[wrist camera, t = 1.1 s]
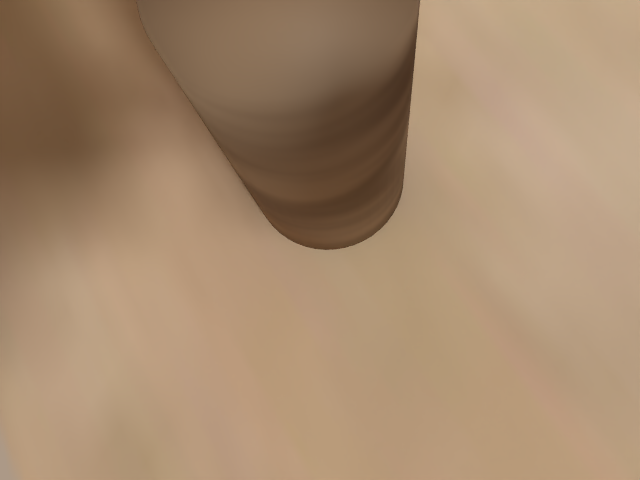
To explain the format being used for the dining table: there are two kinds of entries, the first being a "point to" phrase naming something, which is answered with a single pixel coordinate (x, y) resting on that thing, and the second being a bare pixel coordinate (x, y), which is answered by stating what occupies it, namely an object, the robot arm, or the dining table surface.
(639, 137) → the dining table surface
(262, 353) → the dining table surface
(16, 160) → the dining table surface
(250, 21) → the post
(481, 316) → the dining table surface
